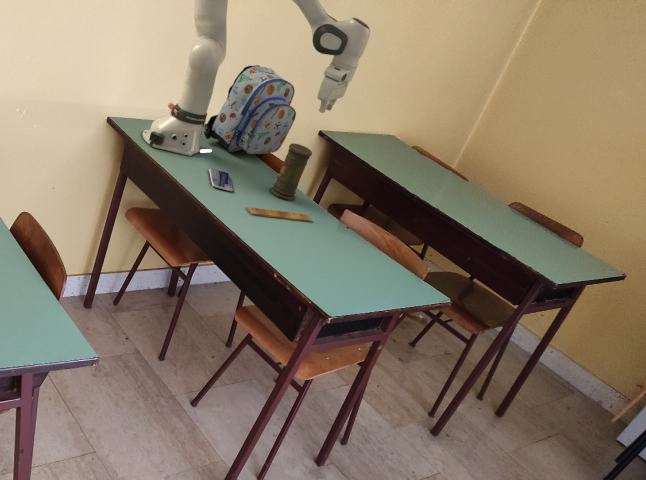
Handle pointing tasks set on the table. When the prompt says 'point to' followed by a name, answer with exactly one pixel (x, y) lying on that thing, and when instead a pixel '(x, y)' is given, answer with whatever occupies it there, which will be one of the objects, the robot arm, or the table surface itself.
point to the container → (291, 172)
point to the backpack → (254, 113)
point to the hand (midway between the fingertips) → (324, 111)
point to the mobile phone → (220, 180)
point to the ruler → (279, 214)
